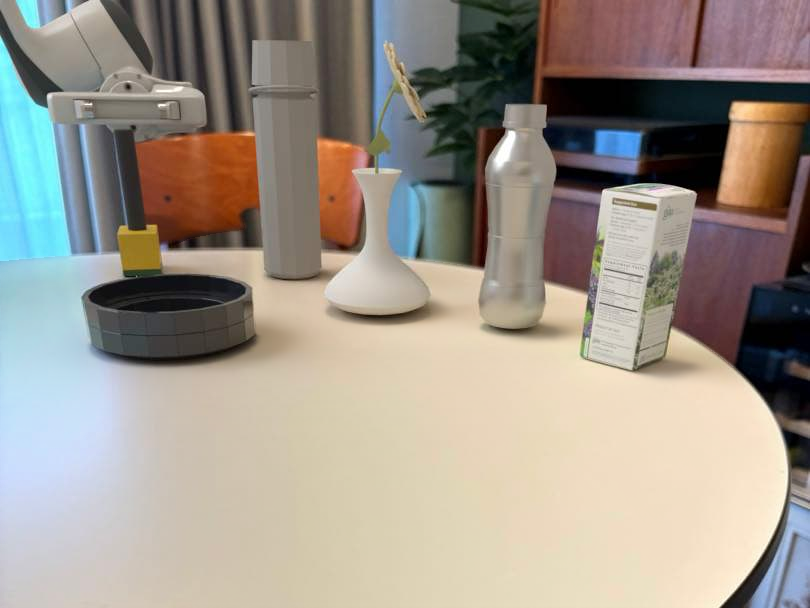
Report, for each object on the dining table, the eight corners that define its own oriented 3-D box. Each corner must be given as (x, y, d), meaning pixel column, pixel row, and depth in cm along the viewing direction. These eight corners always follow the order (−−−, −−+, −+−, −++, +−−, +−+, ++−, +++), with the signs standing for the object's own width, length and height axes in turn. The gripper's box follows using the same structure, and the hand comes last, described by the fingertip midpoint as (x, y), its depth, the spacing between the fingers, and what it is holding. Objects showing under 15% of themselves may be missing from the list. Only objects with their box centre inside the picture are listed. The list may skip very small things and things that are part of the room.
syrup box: (613, 345, 79) (636, 180, 72) (668, 359, 75) (699, 187, 68) (578, 357, 75) (599, 186, 68) (634, 373, 72) (662, 193, 65)
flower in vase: (410, 329, 83) (416, 37, 70) (307, 317, 86) (294, 36, 73) (447, 299, 94) (457, 41, 81) (353, 290, 97) (349, 40, 84)
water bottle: (329, 279, 101) (321, 41, 88) (264, 282, 99) (247, 39, 87) (318, 264, 109) (310, 42, 96) (258, 266, 107) (242, 41, 95)
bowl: (104, 374, 70) (94, 321, 68) (80, 327, 82) (72, 281, 79) (276, 352, 76) (273, 302, 73) (231, 312, 87) (227, 268, 85)
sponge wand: (123, 277, 101) (101, 131, 93) (126, 266, 106) (104, 127, 98) (161, 275, 102) (142, 131, 94) (162, 265, 107) (144, 127, 99)
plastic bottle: (547, 336, 81) (570, 107, 71) (478, 335, 81) (491, 105, 71) (539, 319, 87) (559, 103, 77) (474, 318, 87) (486, 102, 77)
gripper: (49, 79, 113) (34, 81, 101) (202, 82, 117) (204, 84, 106) (58, 131, 116) (44, 138, 105) (207, 131, 120) (209, 139, 109)
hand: (126, 111), depth 105 cm, fingers open, 8 cm apart
